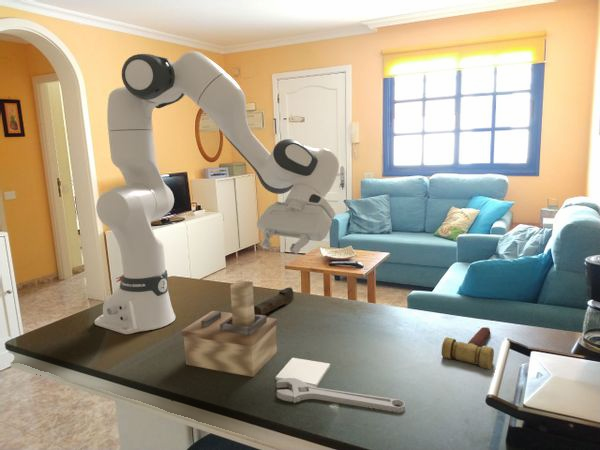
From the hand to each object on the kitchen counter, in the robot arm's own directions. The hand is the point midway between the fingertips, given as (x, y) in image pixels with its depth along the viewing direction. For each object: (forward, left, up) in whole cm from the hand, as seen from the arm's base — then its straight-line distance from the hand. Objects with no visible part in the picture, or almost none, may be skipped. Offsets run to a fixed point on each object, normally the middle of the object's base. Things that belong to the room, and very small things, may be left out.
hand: (278, 249), depth 106 cm
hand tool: (-12, +20, -24) cm, 33 cm away
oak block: (-4, -12, -15) cm, 20 cm away
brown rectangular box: (-7, -12, -23) cm, 27 cm away
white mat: (+11, -13, -23) cm, 29 cm away
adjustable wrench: (+20, -21, -24) cm, 38 cm away
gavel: (+45, +12, -24) cm, 52 cm away
